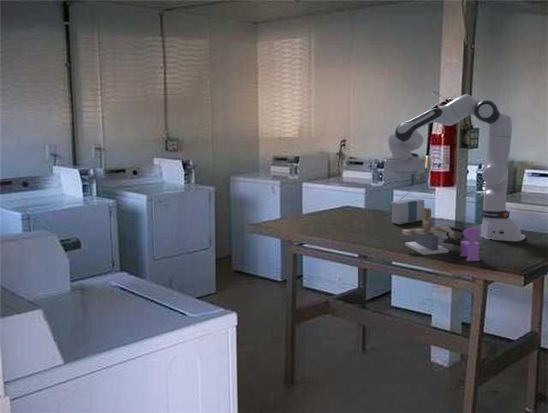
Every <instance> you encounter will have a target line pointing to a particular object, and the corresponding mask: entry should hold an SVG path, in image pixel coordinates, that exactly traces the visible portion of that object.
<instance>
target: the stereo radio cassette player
mask: <svg viewBox="0 0 548 413" xmlns="http://www.w3.org/2000/svg"><path fill="white" fill-rule="evenodd" d="M413 190H414V188H412V189H411V190H410V191H409V192H408V193H406V194H405V195H404V196H402V197H401V198H400V199H399V200H393V201H391V222H392V223H393V224H396V225H403V224H409V223H415V222H422V221H423V208H426V207H425V199H422V198H417V197H416V198H415V197H413V198H408V199H404V198H405V197H406V196H407V195H409V194H410V193H411V192H412V191H413Z"/></svg>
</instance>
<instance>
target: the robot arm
mask: <svg viewBox="0 0 548 413" xmlns="http://www.w3.org/2000/svg"><path fill="white" fill-rule="evenodd" d="M469 116H474V117H475V118H476V119H477V120H479V121H480V122H484V123H486V124H488V128H489V129H488V136H487V137H488V138H487V146H486V152H485V158H484V163H483V168H482V169H483V171H482V178H483V181H485V185H484V191H483V205H482V207H483V208H482V209H481V210H482V211H481V212H482V213H481V227H480V230H481V235H480V236H479V237H481V238H484V239H485V240H490V239H492V240H493V241H506V242H522V241H523V240H525V239H526V235H525V234H521V227H520V225H519V224H517V223H516V222H515V221H514V220H513V219H512V218H510V214H511V211H508V210H507V208H506V207H507V192H508V181H509V168H508V163H509V157H510V150H511V143H512V142H511V141H512V133H513V132H512V130H513V126H512V124H513V123H512V117H511V116H510V115H508V114H506V113H501V112H500V111H499V109H498V106H497V105H496V103H495V102H494V101H493V100H491V99H488V98H487V99H481V100H476V99H475V98H474V96H472V94H471V95H470V94H467V93H465V94H462V95H460V96H458V97H456V98H454V99H452V100H451V101H450V102H448V103H446V104H444V105H442V106H440V107H435V108H431V109H428V110H427V111H425V112H423V113H422V114H421V113H420V114H419V115H417V116H416V117H414V118H411V119H410V120H406V121H403V122H401V123H399V124H398V125H397V127H396V128H395V130H394V131H395V132H393V133H392V134H390V135H389V136H388V139H387V143H388V148H389V151H390V153H391V154H392V156H391V157H392V158H388V159H386V160H385V161H384V164H385V166H386V171H387V174H388V175H389V176H392V175H393V176H394V175H395V177H396V178H398V180H399V181H403V179H404V177H403V175H411V174H412V175H413V174H415V179H416V180H420V179H421V177H420V174H424V172H425V170H426V166H425V163H424V162H423V160H422V159H421V158H420V154H418V153H414V152H413V151H415V150H418V149H419V148H420V147H421V146H422V144H423V142H424V137H423V135H422V134H421V133H420V132H419V131H418V130H419V129H421V128H423V127H425V126H427V125H429V124H431V123H436V124H440V125H442V126H445V127H446V126H448V127H449V126H450V127H451V126H453V125H456V124H457V123H459V122H461V121H462V120H464V119H465V118H466V117H469Z"/></svg>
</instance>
